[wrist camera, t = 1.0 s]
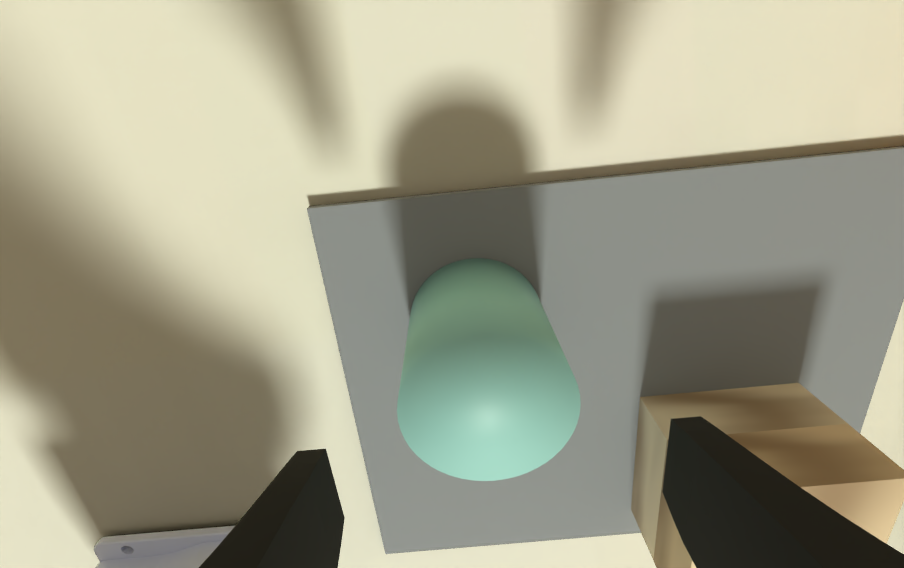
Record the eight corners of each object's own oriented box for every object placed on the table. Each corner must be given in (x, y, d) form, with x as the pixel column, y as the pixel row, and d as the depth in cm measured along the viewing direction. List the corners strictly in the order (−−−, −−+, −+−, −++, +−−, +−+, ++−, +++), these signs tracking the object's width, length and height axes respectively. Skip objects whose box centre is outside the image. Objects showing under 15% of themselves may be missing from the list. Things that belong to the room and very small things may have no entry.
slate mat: (386, 547, 21) (385, 553, 21) (309, 206, 15) (306, 208, 14) (827, 510, 20) (832, 516, 20) (944, 142, 14) (954, 143, 14)
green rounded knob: (419, 380, 17) (410, 487, 12) (401, 265, 15) (383, 341, 11) (542, 368, 17) (579, 473, 12) (539, 251, 15) (582, 323, 10)
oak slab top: (653, 559, 18) (681, 623, 16) (666, 439, 15) (702, 495, 13) (809, 546, 18) (859, 609, 15) (847, 423, 15) (913, 477, 13)
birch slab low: (631, 509, 20) (653, 559, 18) (639, 397, 17) (666, 439, 15) (770, 497, 20) (809, 546, 18) (798, 382, 17) (847, 423, 15)
